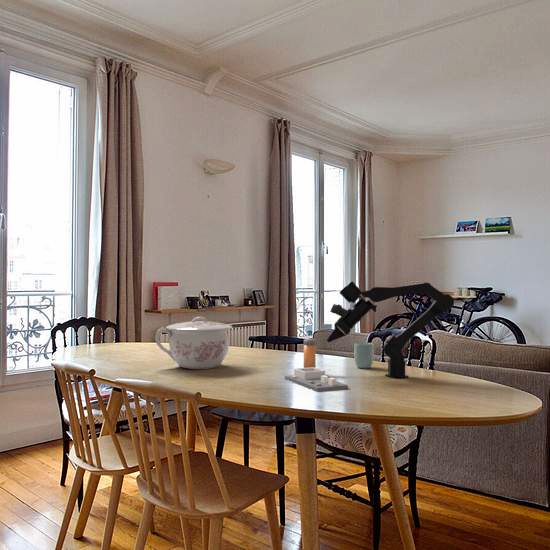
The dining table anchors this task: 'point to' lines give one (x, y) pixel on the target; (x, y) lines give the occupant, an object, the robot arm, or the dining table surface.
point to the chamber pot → (196, 343)
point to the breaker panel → (315, 379)
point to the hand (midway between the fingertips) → (328, 340)
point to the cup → (363, 354)
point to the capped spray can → (309, 353)
